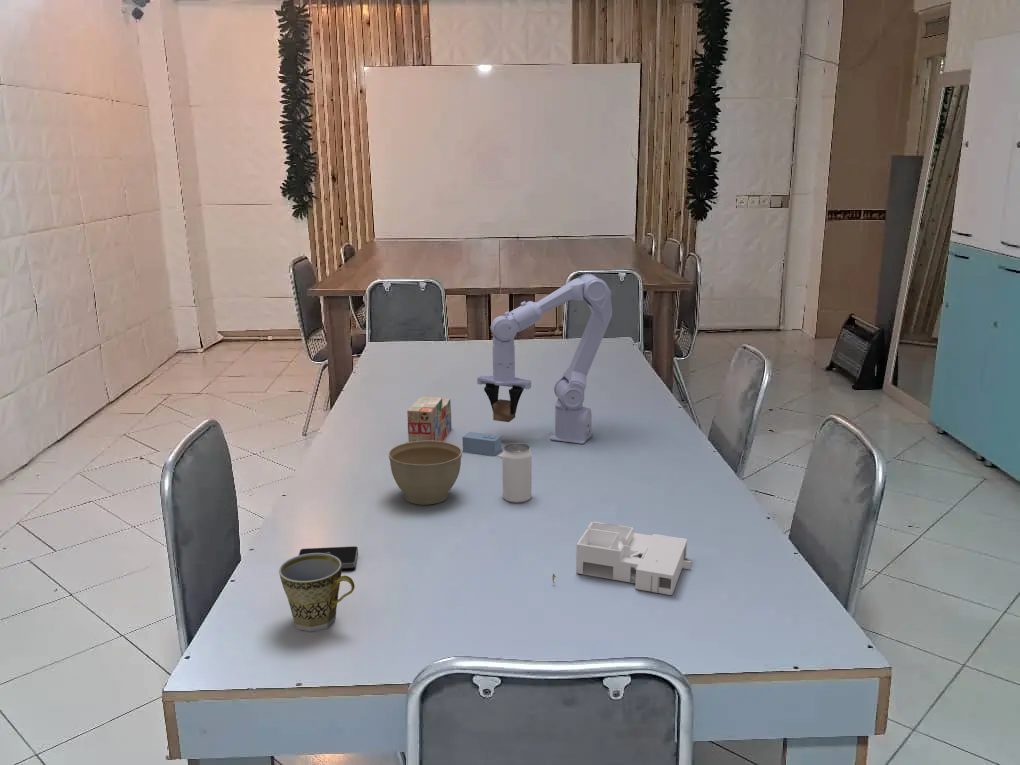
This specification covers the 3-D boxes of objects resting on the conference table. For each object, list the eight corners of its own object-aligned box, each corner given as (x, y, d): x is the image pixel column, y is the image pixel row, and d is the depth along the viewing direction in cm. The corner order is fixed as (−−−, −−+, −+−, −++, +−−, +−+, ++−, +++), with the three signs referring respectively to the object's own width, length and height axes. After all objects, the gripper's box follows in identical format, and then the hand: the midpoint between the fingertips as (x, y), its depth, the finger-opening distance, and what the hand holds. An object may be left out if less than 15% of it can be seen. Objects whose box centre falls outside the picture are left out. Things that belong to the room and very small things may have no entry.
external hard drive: (355, 572, 158) (355, 563, 157) (295, 575, 157) (294, 565, 156) (358, 555, 164) (358, 546, 164) (300, 558, 163) (299, 548, 163)
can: (510, 505, 186) (510, 454, 182) (497, 495, 191) (497, 445, 188) (536, 500, 189) (536, 449, 185) (522, 490, 194) (522, 440, 191)
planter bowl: (466, 509, 184) (465, 462, 181) (391, 514, 182) (389, 466, 179) (458, 481, 199) (457, 437, 197) (389, 486, 197) (387, 441, 194)
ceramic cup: (271, 630, 138) (266, 575, 135) (306, 601, 147) (302, 548, 144) (340, 646, 134) (336, 589, 131) (372, 615, 143) (369, 561, 140)
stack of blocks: (430, 429, 237) (428, 386, 234) (452, 430, 236) (451, 387, 233) (408, 455, 217) (406, 409, 213) (432, 457, 216) (430, 410, 212)
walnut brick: (515, 417, 226) (515, 401, 225) (509, 422, 222) (509, 405, 221) (499, 415, 228) (499, 399, 226) (493, 420, 223) (493, 403, 222)
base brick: (501, 450, 220) (501, 434, 219) (494, 456, 216) (494, 440, 214) (470, 446, 223) (469, 430, 222) (462, 451, 219) (462, 435, 218)
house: (552, 584, 152) (552, 554, 151) (580, 541, 169) (581, 513, 167) (677, 606, 145) (679, 575, 143) (694, 559, 161) (695, 530, 160)
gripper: (472, 363, 220) (473, 413, 223) (524, 368, 214) (524, 419, 218) (483, 357, 226) (483, 406, 230) (534, 362, 221) (534, 411, 224)
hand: (504, 412), depth 224 cm, fingers closed on walnut brick, 4 cm apart
